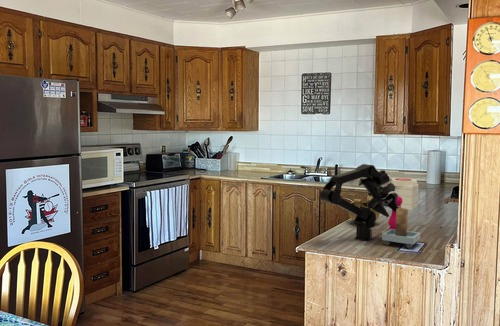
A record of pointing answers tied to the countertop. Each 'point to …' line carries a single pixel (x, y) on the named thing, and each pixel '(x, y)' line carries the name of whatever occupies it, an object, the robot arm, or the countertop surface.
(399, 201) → the pepper mill
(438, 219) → the countertop surface
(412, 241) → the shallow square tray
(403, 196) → the cream watering can
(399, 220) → the walnut post
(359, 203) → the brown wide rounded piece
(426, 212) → the countertop surface
